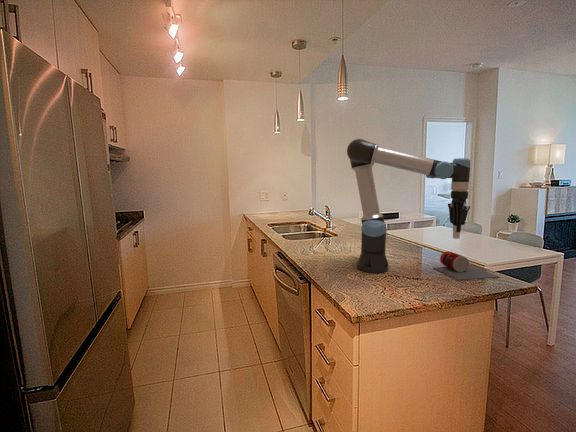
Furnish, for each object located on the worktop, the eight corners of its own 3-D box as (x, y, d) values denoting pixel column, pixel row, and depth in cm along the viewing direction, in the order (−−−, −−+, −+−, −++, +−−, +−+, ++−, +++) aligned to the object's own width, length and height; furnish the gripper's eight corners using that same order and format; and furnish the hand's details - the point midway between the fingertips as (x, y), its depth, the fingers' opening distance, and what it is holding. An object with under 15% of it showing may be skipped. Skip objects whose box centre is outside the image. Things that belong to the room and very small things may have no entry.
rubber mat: (457, 280, 142) (458, 279, 142) (433, 268, 159) (433, 267, 159) (499, 278, 145) (499, 276, 145) (470, 266, 163) (470, 265, 163)
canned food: (455, 261, 163) (471, 268, 152) (442, 268, 162) (456, 275, 151) (451, 248, 161) (466, 253, 151) (437, 254, 161) (451, 260, 150)
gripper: (476, 191, 150) (472, 240, 153) (457, 189, 163) (454, 235, 166) (462, 191, 149) (458, 241, 152) (444, 189, 161) (440, 235, 165)
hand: (456, 238), depth 159 cm, fingers closed
